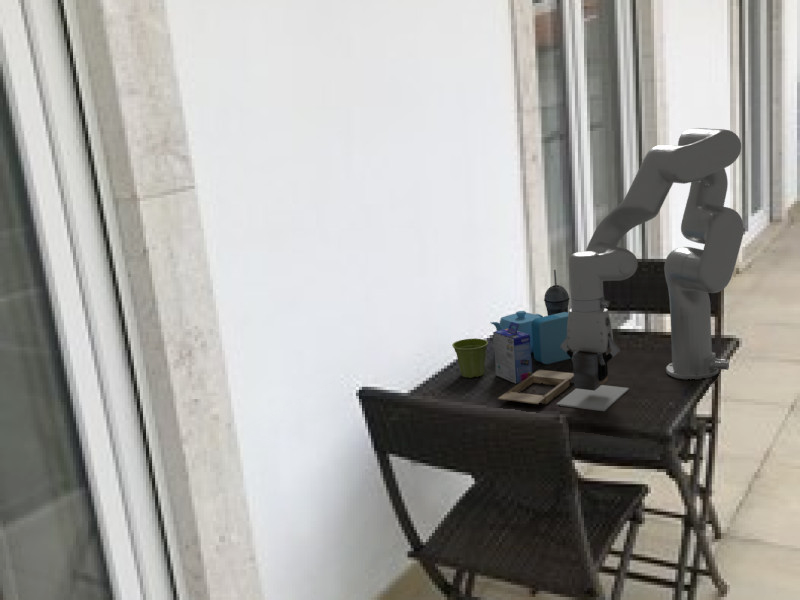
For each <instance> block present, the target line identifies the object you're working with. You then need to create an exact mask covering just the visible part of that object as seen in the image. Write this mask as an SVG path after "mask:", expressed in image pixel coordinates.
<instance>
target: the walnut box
mask: <svg viewBox="0 0 800 600" xmlns="http://www.w3.org/2000/svg"><path fill="white" fill-rule="evenodd" d="M599 364H600V362H599V359H598V355H597V353H592V352H581V351H580V352H579V353H578V352H577V353H576V354H574V355H573V361H572V366H573V367H572V369H573V373H574V377H573V384H574V389H576V388H577V389H585V390H593V391H595V390H596V389H597V388H599V387H600V386H601V385H604V384H606V382H607V381H609V374H608V375H607V377H606V378H605V379H604V380H603V381H599V375H598V365H599Z"/></svg>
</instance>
